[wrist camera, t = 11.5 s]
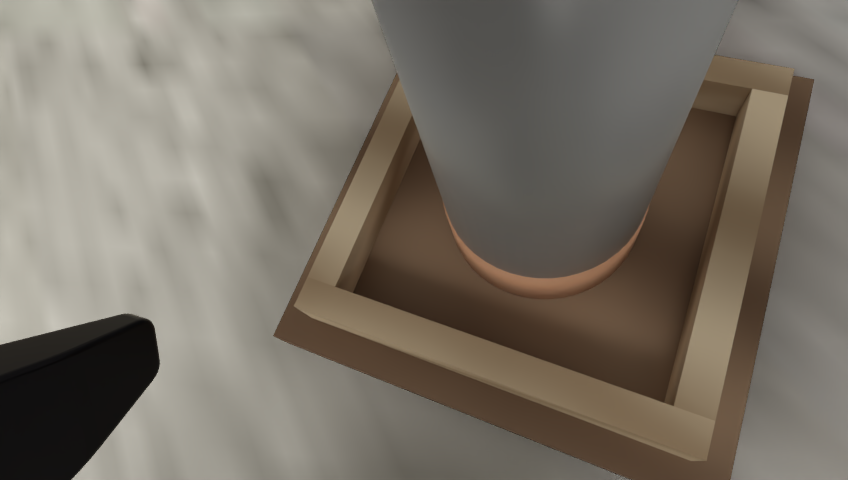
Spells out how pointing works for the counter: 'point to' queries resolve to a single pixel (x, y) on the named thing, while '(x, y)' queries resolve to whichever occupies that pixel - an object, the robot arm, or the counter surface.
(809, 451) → the counter surface
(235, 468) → the counter surface
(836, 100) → the counter surface
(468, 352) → the board
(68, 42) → the counter surface
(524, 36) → the grey tall column
